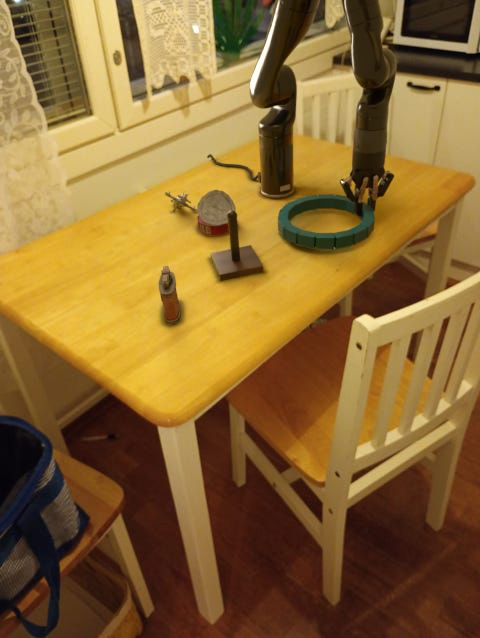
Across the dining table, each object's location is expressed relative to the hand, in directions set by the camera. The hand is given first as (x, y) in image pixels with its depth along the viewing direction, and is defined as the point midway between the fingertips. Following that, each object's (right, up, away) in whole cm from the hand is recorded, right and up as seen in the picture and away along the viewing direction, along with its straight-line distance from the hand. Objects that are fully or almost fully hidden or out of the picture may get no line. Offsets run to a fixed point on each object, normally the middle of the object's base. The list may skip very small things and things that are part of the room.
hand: (364, 213), depth 132 cm
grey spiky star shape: (-48, +3, +14) cm, 50 cm away
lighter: (-45, -25, -23) cm, 56 cm away
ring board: (-32, -14, -10) cm, 36 cm away
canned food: (-37, -2, +5) cm, 37 cm away
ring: (-10, -3, -1) cm, 10 cm away
